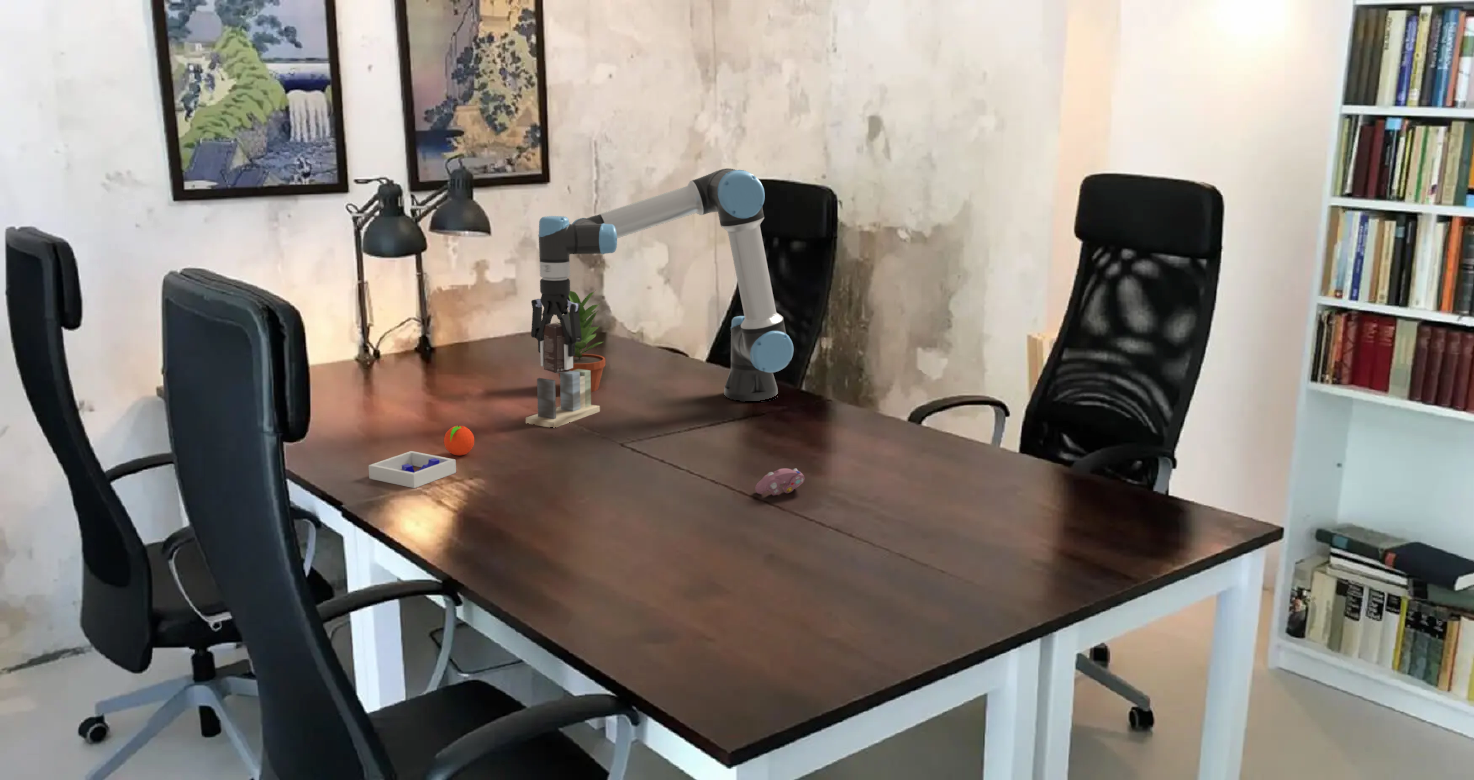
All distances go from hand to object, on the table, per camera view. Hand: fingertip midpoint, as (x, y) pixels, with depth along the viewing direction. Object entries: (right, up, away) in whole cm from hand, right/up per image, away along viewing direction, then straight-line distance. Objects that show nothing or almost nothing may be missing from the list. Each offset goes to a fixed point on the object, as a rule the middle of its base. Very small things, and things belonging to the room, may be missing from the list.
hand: (556, 366), depth 308 cm
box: (0, -1, 0) cm, 1 cm away
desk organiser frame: (-25, -25, -45) cm, 57 cm away
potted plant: (+1, -6, +37) cm, 38 cm away
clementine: (-18, -21, -30) cm, 41 cm away
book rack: (+1, -13, +5) cm, 14 cm away
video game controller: (+55, -28, -54) cm, 82 cm away
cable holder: (-23, -26, -47) cm, 58 cm away
